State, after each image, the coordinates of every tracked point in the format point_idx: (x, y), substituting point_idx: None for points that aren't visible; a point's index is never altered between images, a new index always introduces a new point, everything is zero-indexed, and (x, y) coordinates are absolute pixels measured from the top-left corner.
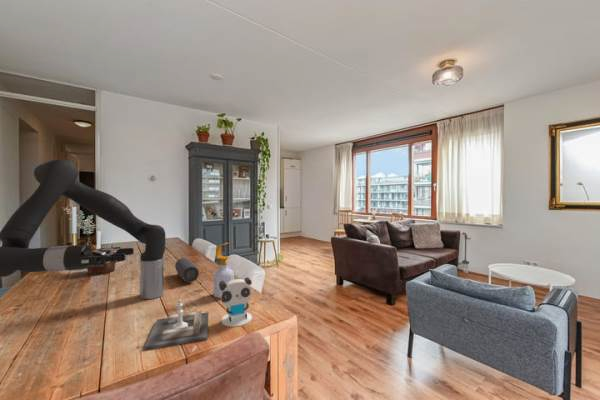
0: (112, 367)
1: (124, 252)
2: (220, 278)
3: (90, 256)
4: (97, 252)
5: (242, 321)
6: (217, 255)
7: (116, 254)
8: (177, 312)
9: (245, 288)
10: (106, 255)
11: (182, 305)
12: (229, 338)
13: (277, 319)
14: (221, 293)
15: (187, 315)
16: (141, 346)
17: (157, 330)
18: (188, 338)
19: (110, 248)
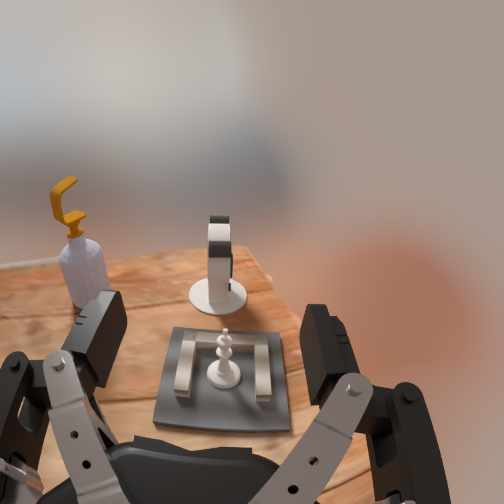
0: (338, 467)
1: (106, 351)
2: (95, 264)
3: (419, 489)
4: (319, 491)
5: (234, 289)
6: (62, 218)
7: (335, 339)
8: (229, 355)
9: (230, 234)
10: (370, 391)
11: (227, 336)
12: (283, 309)
13: (244, 257)
14: (222, 265)
15: (193, 354)
16: (271, 441)
17: (219, 416)
18: (278, 358)
19: (86, 415)
